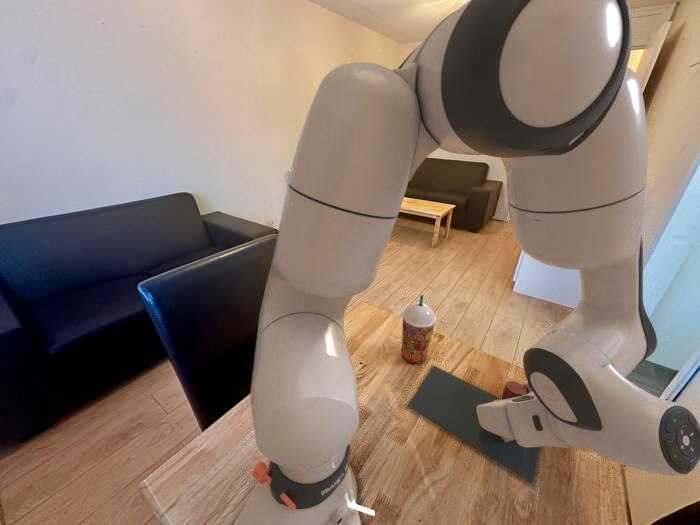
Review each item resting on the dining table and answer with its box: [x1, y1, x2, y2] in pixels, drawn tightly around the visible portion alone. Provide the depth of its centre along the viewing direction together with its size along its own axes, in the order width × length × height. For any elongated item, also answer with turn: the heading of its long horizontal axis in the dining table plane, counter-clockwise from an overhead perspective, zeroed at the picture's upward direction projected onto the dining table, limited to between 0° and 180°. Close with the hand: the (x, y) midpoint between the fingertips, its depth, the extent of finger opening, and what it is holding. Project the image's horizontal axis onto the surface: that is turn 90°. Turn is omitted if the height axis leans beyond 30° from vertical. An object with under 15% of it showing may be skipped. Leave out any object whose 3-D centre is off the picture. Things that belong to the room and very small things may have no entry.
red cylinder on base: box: [500, 380, 525, 442], centre depth 58 cm, size 7×4×11 cm, turn 12°
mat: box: [407, 365, 540, 484], centre depth 63 cm, size 15×25×1 cm, turn 52°
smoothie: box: [401, 294, 437, 364], centre depth 74 cm, size 8×8×20 cm
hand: (505, 402), depth 59 cm, fingers closed on red cylinder on base, 3 cm apart
